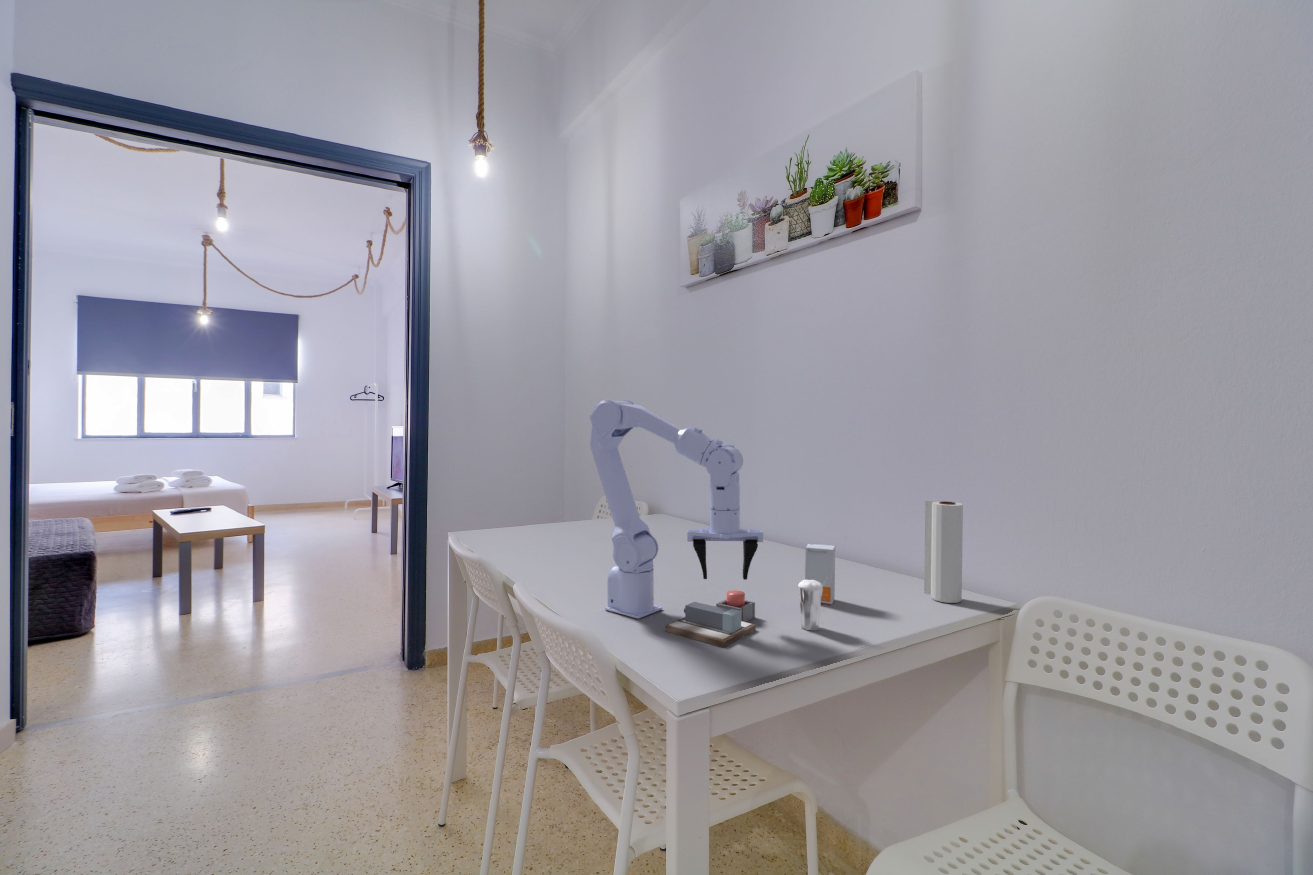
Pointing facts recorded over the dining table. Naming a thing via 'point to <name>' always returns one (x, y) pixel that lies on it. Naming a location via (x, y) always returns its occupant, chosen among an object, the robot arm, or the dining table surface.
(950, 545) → the paper towel roll
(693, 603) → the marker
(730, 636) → the brown flat wooden board
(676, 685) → the dining table surface
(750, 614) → the button housing
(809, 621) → the milkshake
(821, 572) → the skincare box
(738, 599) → the button
